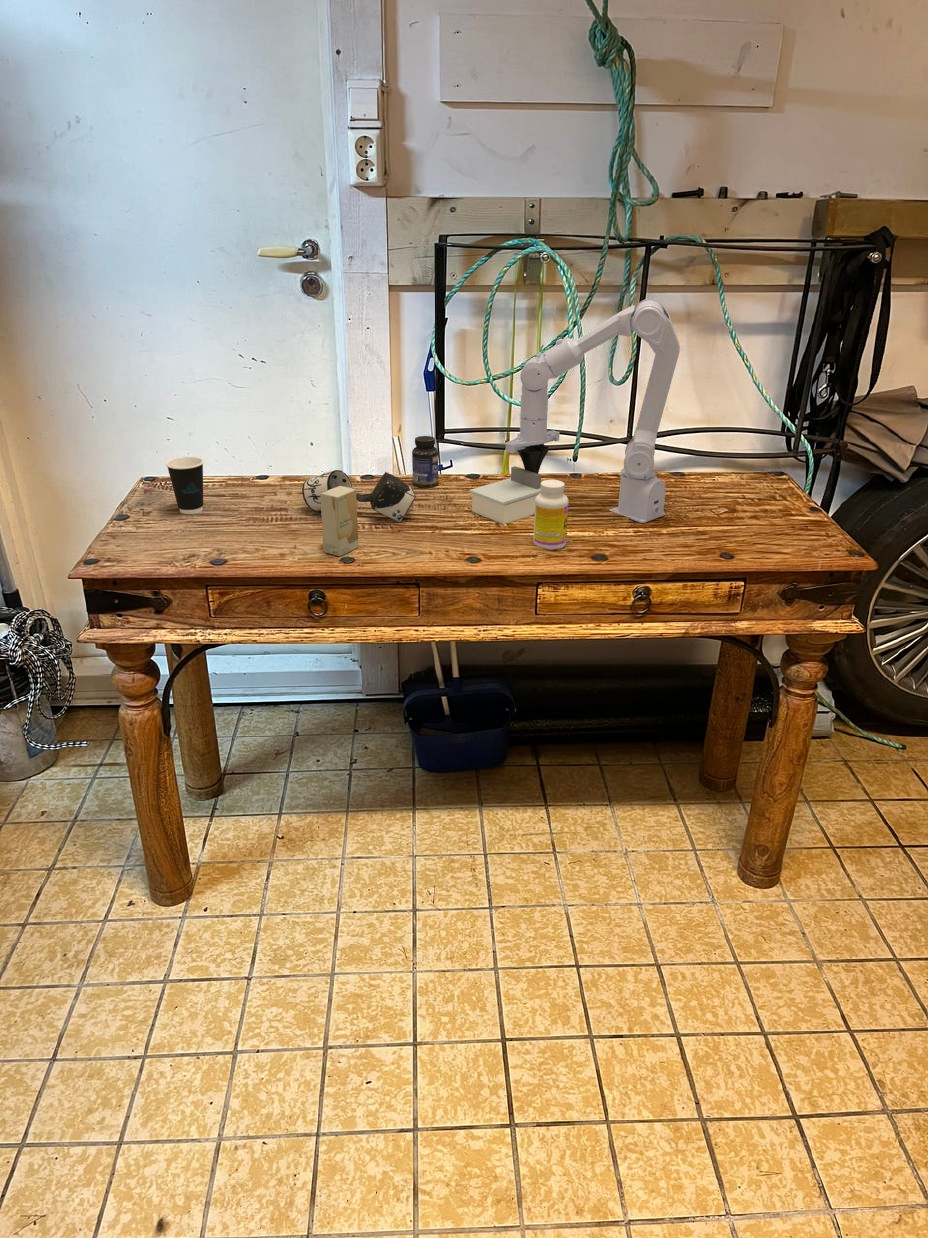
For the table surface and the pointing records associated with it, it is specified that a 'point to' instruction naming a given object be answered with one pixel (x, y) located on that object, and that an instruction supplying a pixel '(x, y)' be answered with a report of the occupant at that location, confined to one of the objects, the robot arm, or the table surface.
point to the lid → (511, 487)
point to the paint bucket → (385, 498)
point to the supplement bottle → (551, 516)
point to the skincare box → (339, 520)
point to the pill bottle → (425, 462)
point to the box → (504, 509)
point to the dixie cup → (187, 483)
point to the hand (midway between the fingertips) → (531, 478)
